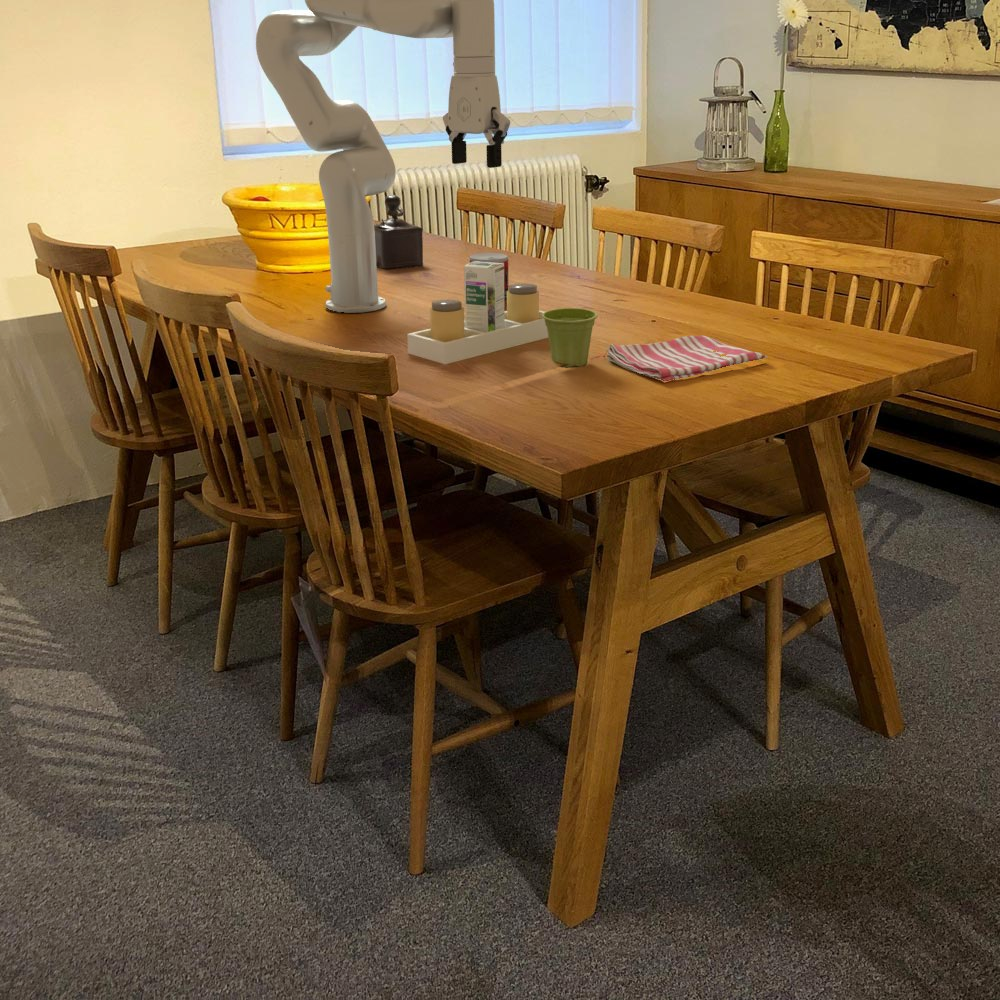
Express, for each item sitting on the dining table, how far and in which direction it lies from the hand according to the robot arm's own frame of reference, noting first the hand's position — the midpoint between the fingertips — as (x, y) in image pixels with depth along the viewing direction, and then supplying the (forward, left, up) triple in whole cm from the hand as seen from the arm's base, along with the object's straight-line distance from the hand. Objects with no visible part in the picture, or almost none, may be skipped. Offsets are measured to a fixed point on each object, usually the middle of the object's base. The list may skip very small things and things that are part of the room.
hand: (476, 165), depth 215 cm
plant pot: (+32, -8, -31) cm, 45 cm away
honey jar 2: (+14, -2, -30) cm, 33 cm away
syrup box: (+14, -11, -30) cm, 35 cm away
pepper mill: (-58, +26, -31) cm, 71 cm away
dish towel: (+46, +6, -31) cm, 56 cm away
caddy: (+14, -11, -30) cm, 35 cm away
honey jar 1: (+14, -20, -30) cm, 38 cm away
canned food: (-8, +10, -31) cm, 33 cm away
